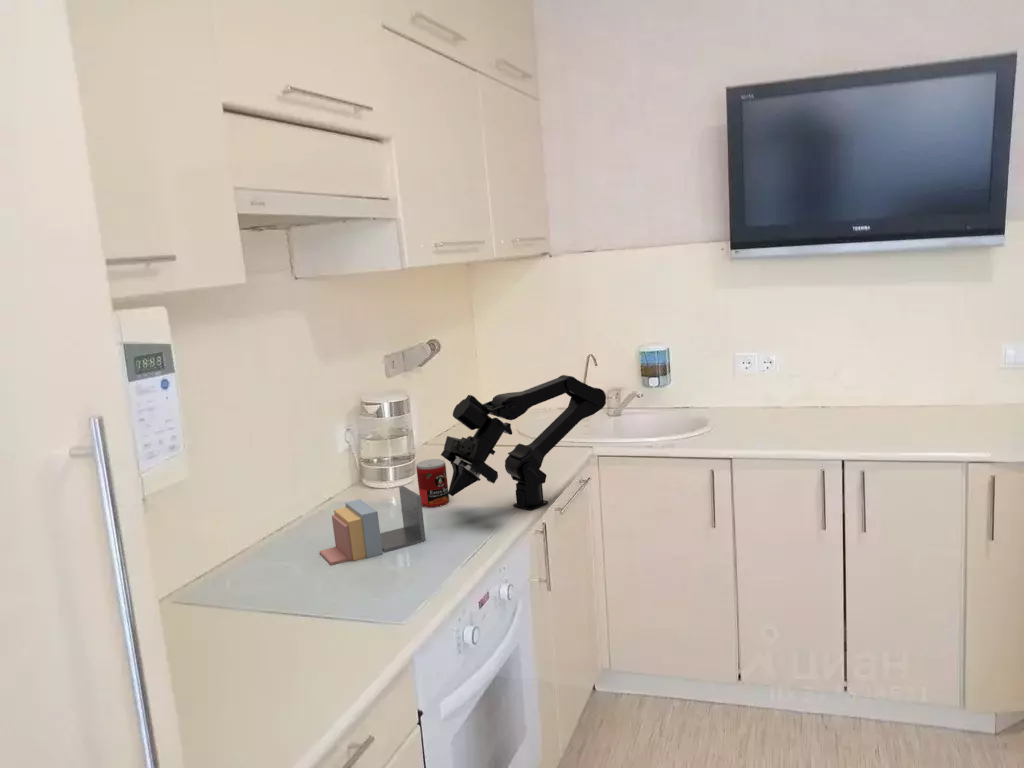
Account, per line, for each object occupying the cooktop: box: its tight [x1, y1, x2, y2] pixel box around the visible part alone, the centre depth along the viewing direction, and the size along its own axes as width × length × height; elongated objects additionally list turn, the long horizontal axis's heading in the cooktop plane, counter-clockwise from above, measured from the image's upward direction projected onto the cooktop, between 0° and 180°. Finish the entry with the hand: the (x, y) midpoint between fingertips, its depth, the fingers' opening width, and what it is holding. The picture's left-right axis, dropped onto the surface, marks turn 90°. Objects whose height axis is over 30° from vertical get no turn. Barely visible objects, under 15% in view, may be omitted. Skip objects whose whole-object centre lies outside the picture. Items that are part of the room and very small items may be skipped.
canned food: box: [415, 458, 450, 508], centre depth 218 cm, size 8×8×11 cm
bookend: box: [380, 485, 427, 553], centre depth 192 cm, size 10×11×11 cm
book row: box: [319, 498, 384, 566], centre depth 187 cm, size 11×12×10 cm
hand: (450, 494), depth 198 cm, fingers closed
